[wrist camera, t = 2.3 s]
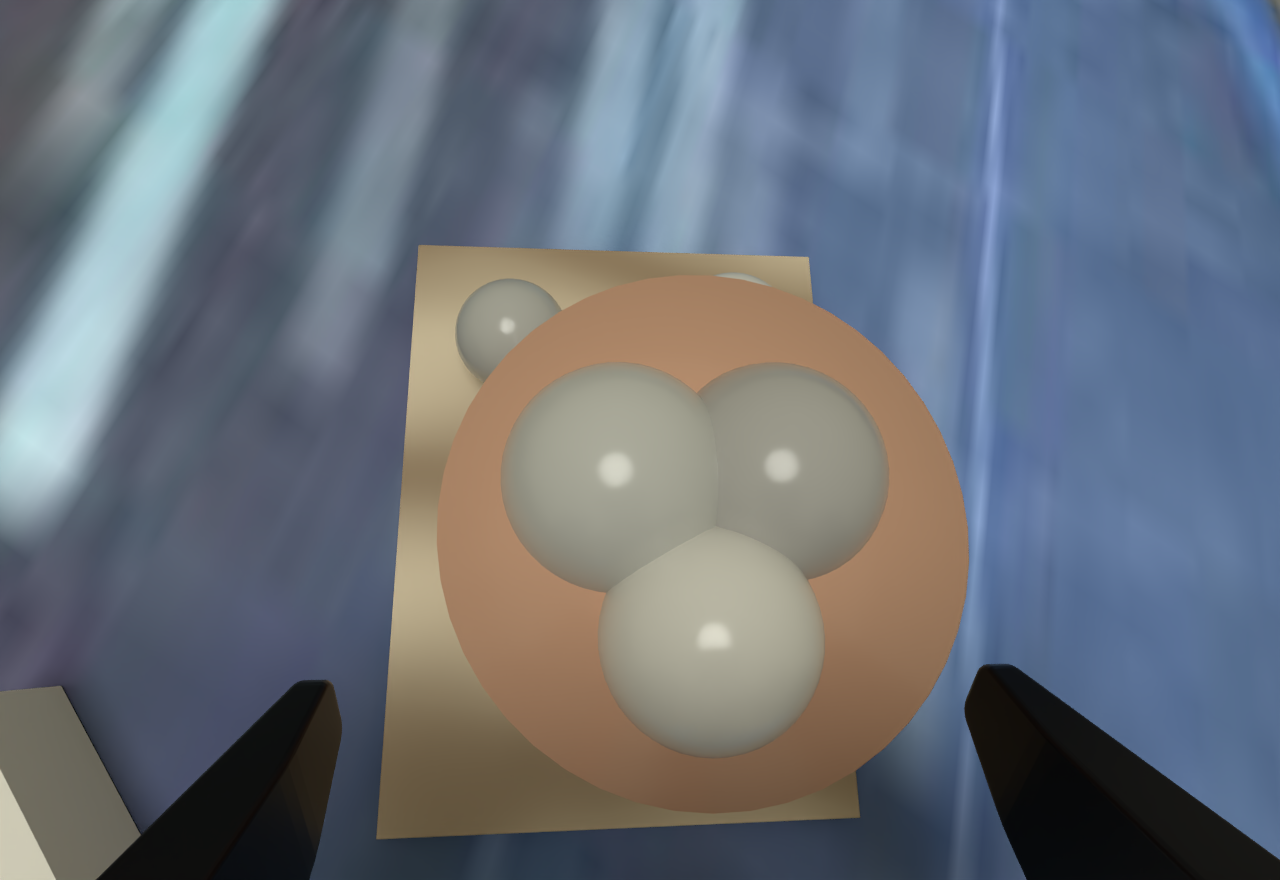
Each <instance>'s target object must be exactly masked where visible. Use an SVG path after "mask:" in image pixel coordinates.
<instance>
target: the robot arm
mask: <svg viewBox="0 0 1280 880" xmlns="http://www.w3.org/2000/svg"><path fill="white" fill-rule="evenodd" d="M964 709H965V718H966V722H967V725H968V727H969V730H970V733H971V736H972V739H973V742H974V745H975V748H976V751H977V754H978V757H979V760H980V762H981V765H982V768H983V771H984V774H985V777H986V780H987V783H988V786H989V789H990V792H991V795H992V798H993V800H994V803H995V806H996V809H997V812H998V814H999V817H1000V820H1001V822H1002V825H1003V827H1004V830H1005V832H1006V834H1007V837H1008V839H1009V841H1010V844H1011V846H1012V848H1013V850H1014V853H1015V855H1016V857H1017V859H1018V861H1019V864H1020V866H1021V868H1022V870H1023V872H1024V875H1025V877H1026V879H1027V880H1280V860H1279V859H1278V858H1277V857H1275V856H1274V855H1272V854H1271V853H1270V852H1268V851H1267V850H1266V849H1264V848H1263V847H1262V846H1260V845H1259V844H1257V843H1256V842H1255V841H1253V840H1252V839H1251V838H1249V837H1248V836H1246V835H1245V834H1244V833H1242V832H1241V831H1240V830H1238V829H1237V828H1236V827H1234V826H1233V825H1231V824H1230V823H1229V822H1227V821H1226V820H1225V819H1223V818H1222V817H1220V816H1219V815H1218V814H1216V813H1215V812H1214V811H1212V810H1211V809H1210V808H1208V807H1207V806H1205V805H1204V804H1203V803H1201V802H1200V801H1199V800H1197V799H1196V798H1194V797H1193V796H1192V795H1190V794H1189V793H1188V792H1186V791H1185V790H1184V789H1182V788H1181V787H1179V786H1178V785H1177V784H1175V783H1174V782H1173V781H1171V780H1170V779H1168V778H1167V777H1166V776H1164V775H1163V774H1162V773H1160V772H1159V771H1158V770H1156V769H1155V768H1153V767H1152V766H1151V765H1149V764H1148V763H1147V762H1145V761H1144V760H1142V759H1141V758H1140V757H1138V756H1137V755H1136V754H1134V753H1133V752H1132V751H1130V750H1129V749H1127V748H1126V747H1125V746H1123V745H1122V744H1121V743H1119V742H1118V741H1116V740H1115V739H1114V738H1112V737H1111V736H1110V735H1108V734H1107V733H1106V732H1104V731H1103V730H1101V729H1100V728H1099V727H1097V726H1096V725H1095V724H1093V723H1092V722H1090V721H1089V720H1088V719H1086V718H1085V717H1084V716H1082V715H1081V714H1080V713H1078V712H1077V711H1075V710H1074V709H1073V708H1071V707H1070V706H1069V705H1067V704H1066V703H1065V702H1063V701H1062V700H1060V699H1059V698H1058V697H1056V696H1055V695H1054V694H1052V693H1051V692H1049V691H1048V690H1047V689H1045V688H1044V687H1043V686H1041V685H1040V684H1039V683H1037V682H1036V681H1034V680H1033V679H1032V678H1030V677H1029V676H1028V675H1026V674H1025V673H1023V672H1022V671H1021V670H1019V669H1018V668H1016V667H1015V666H1013V665H1010V664H986V665H983V666H982V667H980V668H979V670H978V672H977V674H976V677H975V679H974V681H973V684H972V686H971V689H970V691H969V694H968V696H967V699H966V701H965V708H964ZM341 734H342V721H341V716H340V712H339V708H338V703H337V699H336V695H335V690H334V687H333V684H332V683H331V682H330V681H329V680H303V681H299V682H297V683H296V684H294V685H293V686H292V687H291V688H290V689H289V690H288V691H287V692H286V693H285V694H284V695H283V696H282V697H281V698H280V699H279V700H278V701H277V702H276V703H275V704H274V705H272V706H271V707H270V708H269V709H268V710H267V711H266V712H265V713H264V714H263V715H262V716H261V717H260V718H259V719H258V720H257V721H256V722H255V723H254V724H253V725H252V726H251V727H250V728H249V729H248V730H247V731H246V732H245V733H244V734H243V735H242V736H241V737H240V738H239V739H238V740H237V741H236V742H235V743H234V744H233V745H232V746H231V747H230V748H229V749H228V750H227V751H226V752H225V753H224V754H223V755H222V756H221V757H220V758H219V759H218V760H217V761H216V762H215V763H214V764H213V765H212V766H211V767H210V768H209V769H208V770H207V771H205V772H204V773H203V774H202V775H201V776H200V777H199V778H198V779H197V780H196V781H195V782H194V783H193V784H192V785H191V786H190V787H189V788H188V789H187V790H186V791H185V792H184V793H183V794H182V795H181V796H180V797H179V798H178V799H177V800H176V801H175V802H174V803H173V804H172V805H171V806H170V807H169V808H168V809H167V810H166V811H165V812H164V813H163V814H162V815H161V816H160V817H159V818H158V819H157V820H156V821H155V822H154V823H153V824H152V825H151V826H150V827H149V828H148V829H147V830H146V831H145V832H144V833H143V834H142V835H141V836H139V837H138V838H137V839H136V840H135V841H134V842H133V843H132V844H131V845H130V846H129V847H128V848H127V849H126V850H125V851H124V852H123V853H122V854H121V855H120V856H119V857H118V858H117V859H116V860H115V861H114V862H113V863H112V864H111V865H110V866H109V867H108V868H107V869H106V870H105V871H104V872H103V873H102V874H101V875H100V876H99V877H98V878H97V879H96V880H309V878H310V875H311V872H312V868H313V865H314V862H315V858H316V854H317V850H318V845H319V841H320V837H321V832H322V827H323V822H324V818H325V813H326V808H327V803H328V798H329V794H330V789H331V784H332V779H333V774H334V770H335V765H336V760H337V755H338V750H339V746H340V741H341Z"/></svg>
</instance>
